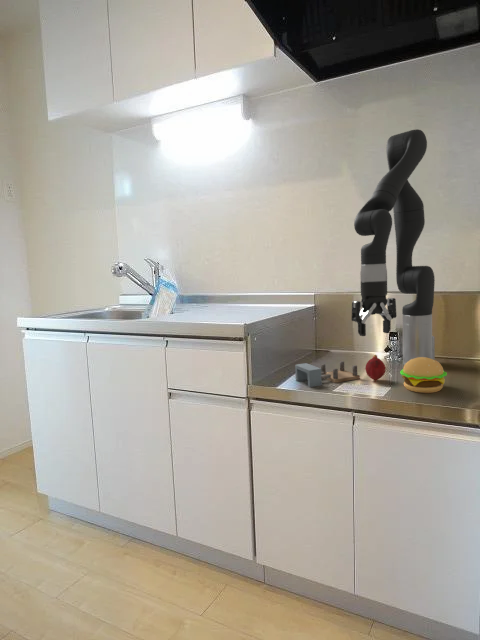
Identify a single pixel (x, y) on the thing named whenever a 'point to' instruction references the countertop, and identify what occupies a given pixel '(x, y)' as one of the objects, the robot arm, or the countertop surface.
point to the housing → (308, 374)
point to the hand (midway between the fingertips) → (374, 334)
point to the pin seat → (339, 373)
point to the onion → (375, 368)
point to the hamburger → (423, 375)
